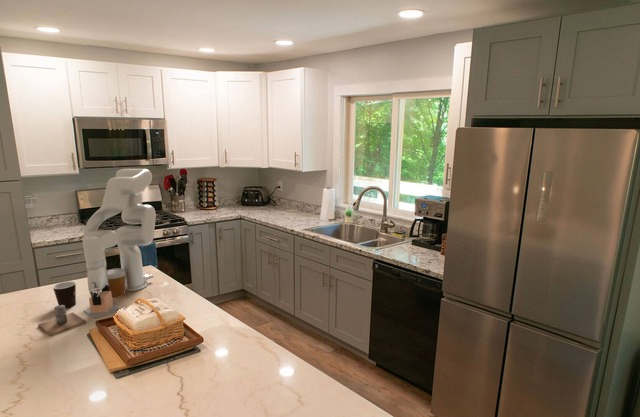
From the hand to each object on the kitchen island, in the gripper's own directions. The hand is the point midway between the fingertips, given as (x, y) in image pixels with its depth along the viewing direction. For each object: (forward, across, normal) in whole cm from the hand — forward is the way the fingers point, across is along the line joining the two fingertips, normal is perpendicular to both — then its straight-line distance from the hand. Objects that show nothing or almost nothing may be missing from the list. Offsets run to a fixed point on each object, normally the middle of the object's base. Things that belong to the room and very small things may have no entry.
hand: (101, 299), depth 174 cm
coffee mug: (+5, -9, -18) cm, 20 cm away
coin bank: (+4, +1, 0) cm, 4 cm away
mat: (+5, +1, 0) cm, 5 cm away
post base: (+4, +12, -11) cm, 17 cm away
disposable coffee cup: (+5, -16, +1) cm, 17 cm away
